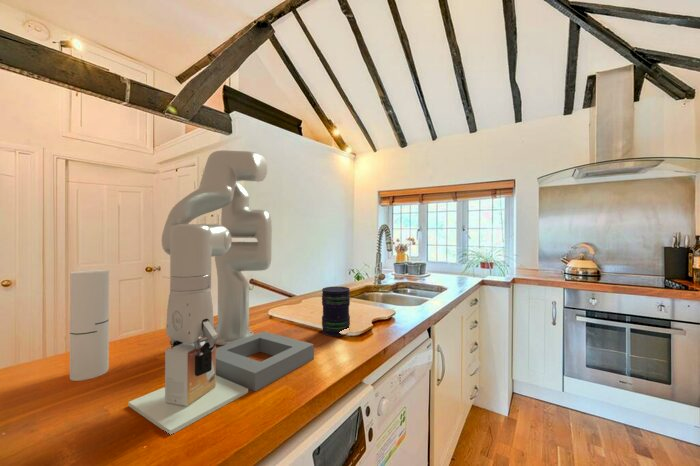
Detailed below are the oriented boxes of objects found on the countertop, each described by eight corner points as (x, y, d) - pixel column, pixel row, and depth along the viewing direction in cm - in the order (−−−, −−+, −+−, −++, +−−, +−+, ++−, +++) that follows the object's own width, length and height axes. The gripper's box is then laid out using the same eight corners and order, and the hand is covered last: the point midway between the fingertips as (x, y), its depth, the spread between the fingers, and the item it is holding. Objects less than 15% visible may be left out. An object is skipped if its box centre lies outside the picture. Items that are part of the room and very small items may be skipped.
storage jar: (326, 337, 97) (326, 292, 97) (318, 328, 106) (318, 287, 106) (354, 334, 101) (354, 290, 101) (344, 325, 110) (344, 285, 110)
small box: (186, 407, 56) (186, 352, 56) (164, 403, 58) (163, 349, 58) (216, 386, 64) (216, 338, 64) (195, 383, 66) (195, 336, 66)
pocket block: (201, 369, 74) (201, 353, 74) (263, 344, 91) (263, 331, 91) (255, 391, 64) (255, 373, 64) (313, 358, 81) (313, 344, 81)
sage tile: (128, 405, 58) (128, 401, 58) (204, 373, 72) (205, 370, 72) (170, 435, 50) (170, 430, 50) (248, 392, 63) (248, 388, 63)
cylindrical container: (115, 369, 74) (115, 270, 74) (81, 382, 68) (82, 273, 68) (96, 365, 77) (97, 269, 77) (62, 377, 70) (63, 272, 70)
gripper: (150, 282, 63) (150, 364, 62) (197, 290, 53) (197, 387, 53) (186, 278, 69) (186, 352, 69) (233, 284, 60) (233, 371, 60)
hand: (190, 367), depth 61 cm, fingers open, 8 cm apart
